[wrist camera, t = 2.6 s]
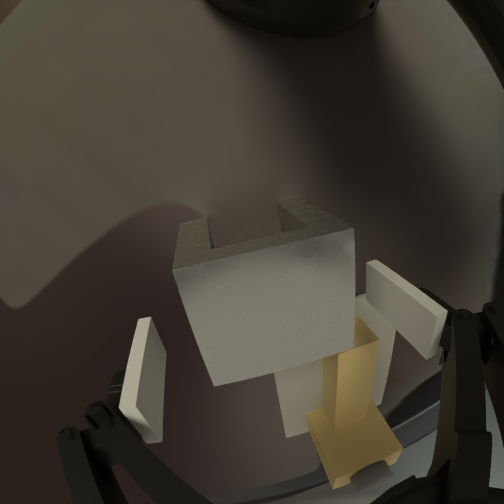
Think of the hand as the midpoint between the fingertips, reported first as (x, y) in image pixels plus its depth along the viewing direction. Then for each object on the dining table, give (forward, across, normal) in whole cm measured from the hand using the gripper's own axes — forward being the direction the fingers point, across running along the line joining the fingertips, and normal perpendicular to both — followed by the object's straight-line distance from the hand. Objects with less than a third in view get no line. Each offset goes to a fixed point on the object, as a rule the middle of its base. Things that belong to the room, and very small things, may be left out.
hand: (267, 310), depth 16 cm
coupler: (+7, +7, -16) cm, 18 cm away
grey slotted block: (+7, 0, 0) cm, 7 cm away
